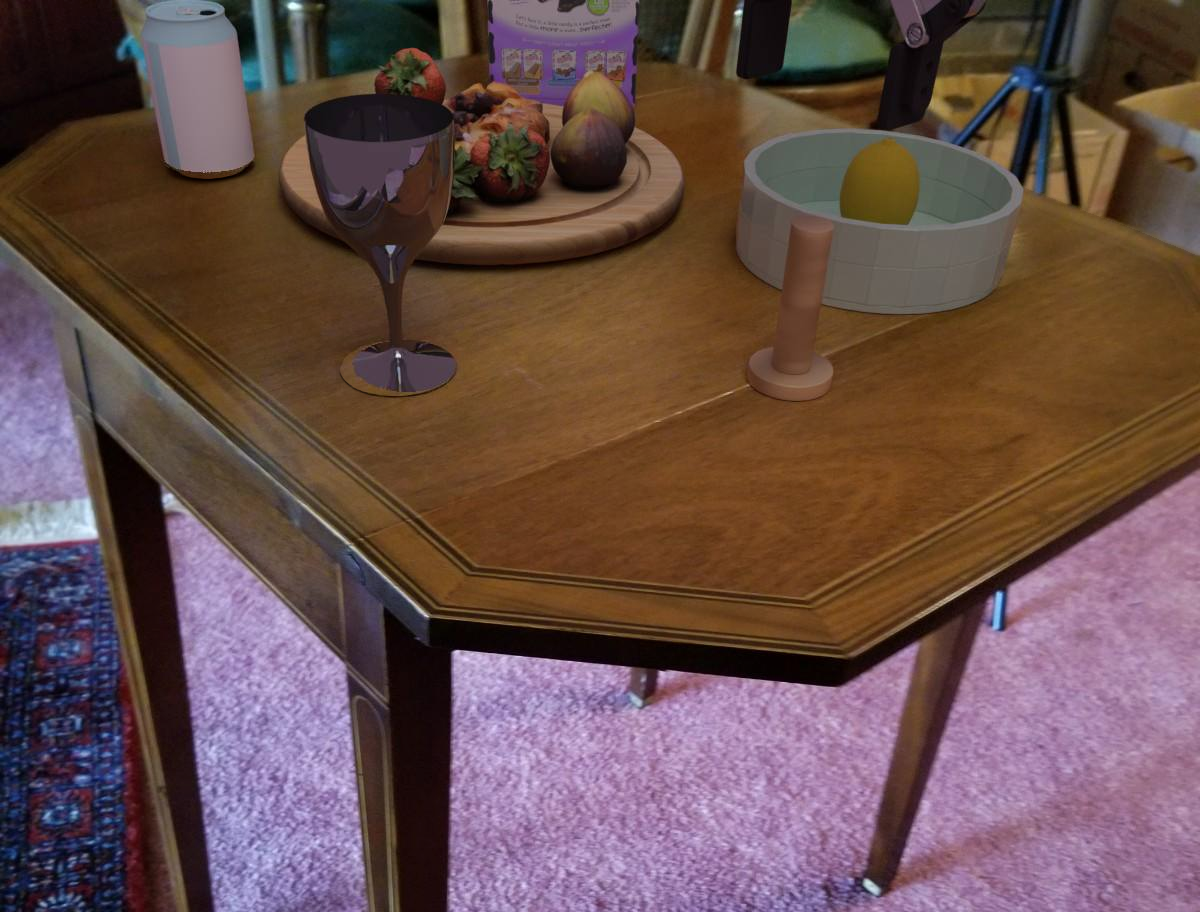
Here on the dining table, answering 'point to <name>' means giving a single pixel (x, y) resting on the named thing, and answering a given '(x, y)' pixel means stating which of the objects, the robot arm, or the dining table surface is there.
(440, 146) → the wine glass
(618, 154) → the wooden plate
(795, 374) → the stirrer
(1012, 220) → the bowl
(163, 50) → the can
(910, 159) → the lemon
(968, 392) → the dining table surface
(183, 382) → the dining table surface
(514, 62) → the candy box
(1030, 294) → the dining table surface
